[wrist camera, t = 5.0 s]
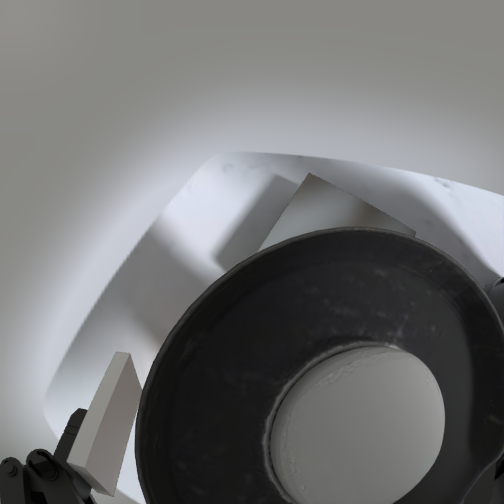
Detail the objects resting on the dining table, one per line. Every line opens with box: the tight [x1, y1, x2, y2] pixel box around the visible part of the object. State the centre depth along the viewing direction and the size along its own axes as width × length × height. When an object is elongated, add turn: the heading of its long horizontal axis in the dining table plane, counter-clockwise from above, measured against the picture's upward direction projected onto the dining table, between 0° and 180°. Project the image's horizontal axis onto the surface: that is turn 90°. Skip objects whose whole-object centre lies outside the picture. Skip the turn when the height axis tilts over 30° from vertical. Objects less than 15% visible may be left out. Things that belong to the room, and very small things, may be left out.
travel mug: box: [135, 227, 504, 504], centre depth 12 cm, size 8×8×20 cm
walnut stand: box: [257, 173, 416, 253], centre depth 24 cm, size 12×12×4 cm
